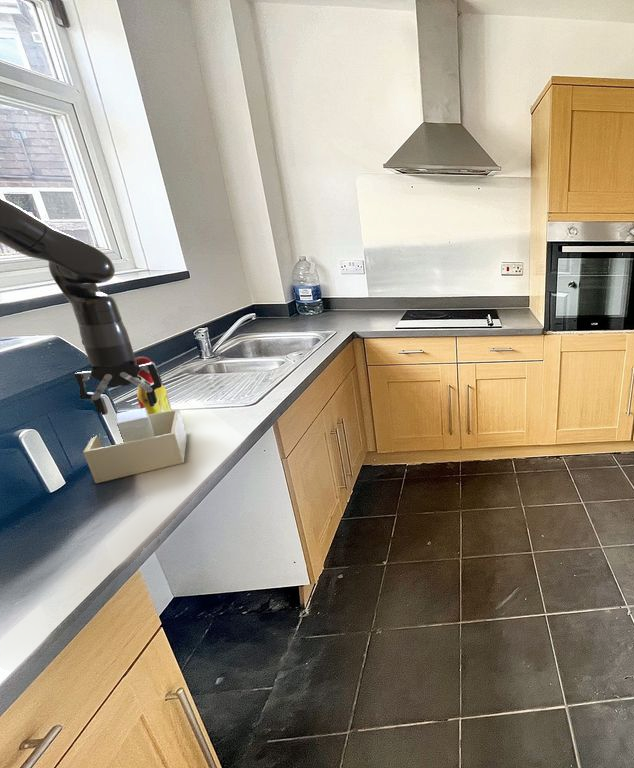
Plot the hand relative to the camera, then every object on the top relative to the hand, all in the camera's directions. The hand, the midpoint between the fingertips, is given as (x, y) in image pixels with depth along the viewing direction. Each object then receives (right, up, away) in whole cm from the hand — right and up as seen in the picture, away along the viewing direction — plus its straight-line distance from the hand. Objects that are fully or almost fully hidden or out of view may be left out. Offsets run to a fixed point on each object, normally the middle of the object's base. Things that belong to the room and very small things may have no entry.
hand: (129, 409), depth 98 cm
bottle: (-12, -6, +23) cm, 26 cm away
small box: (0, -11, +4) cm, 12 cm away
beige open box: (0, -12, +4) cm, 13 cm away
